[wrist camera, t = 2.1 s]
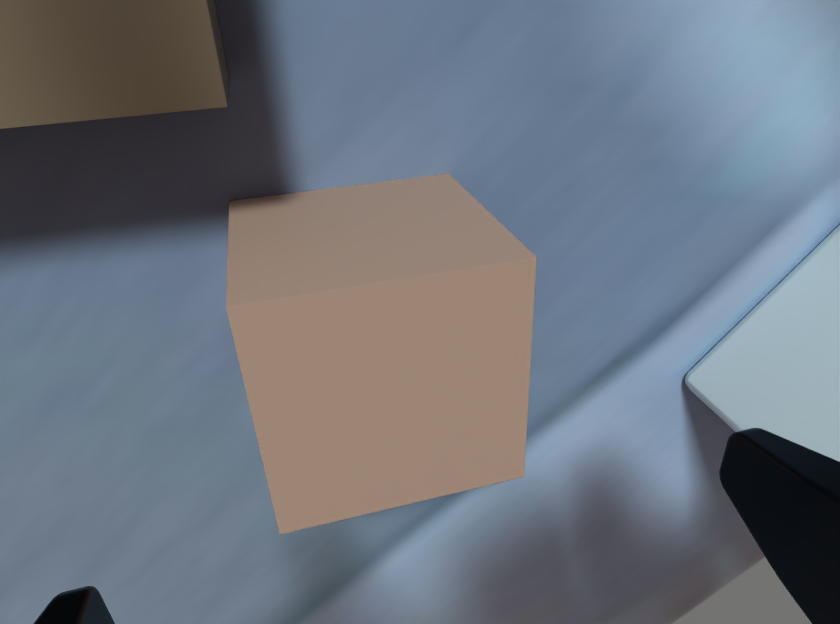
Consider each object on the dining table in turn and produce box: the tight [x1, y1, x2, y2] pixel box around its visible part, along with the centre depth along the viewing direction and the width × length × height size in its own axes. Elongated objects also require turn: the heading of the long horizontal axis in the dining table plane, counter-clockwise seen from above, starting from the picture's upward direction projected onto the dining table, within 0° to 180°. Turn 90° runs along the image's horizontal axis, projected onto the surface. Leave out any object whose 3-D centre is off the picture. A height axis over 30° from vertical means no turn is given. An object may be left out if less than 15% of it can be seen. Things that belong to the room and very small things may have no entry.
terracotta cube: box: [226, 174, 537, 534], centre depth 13 cm, size 5×5×5 cm
